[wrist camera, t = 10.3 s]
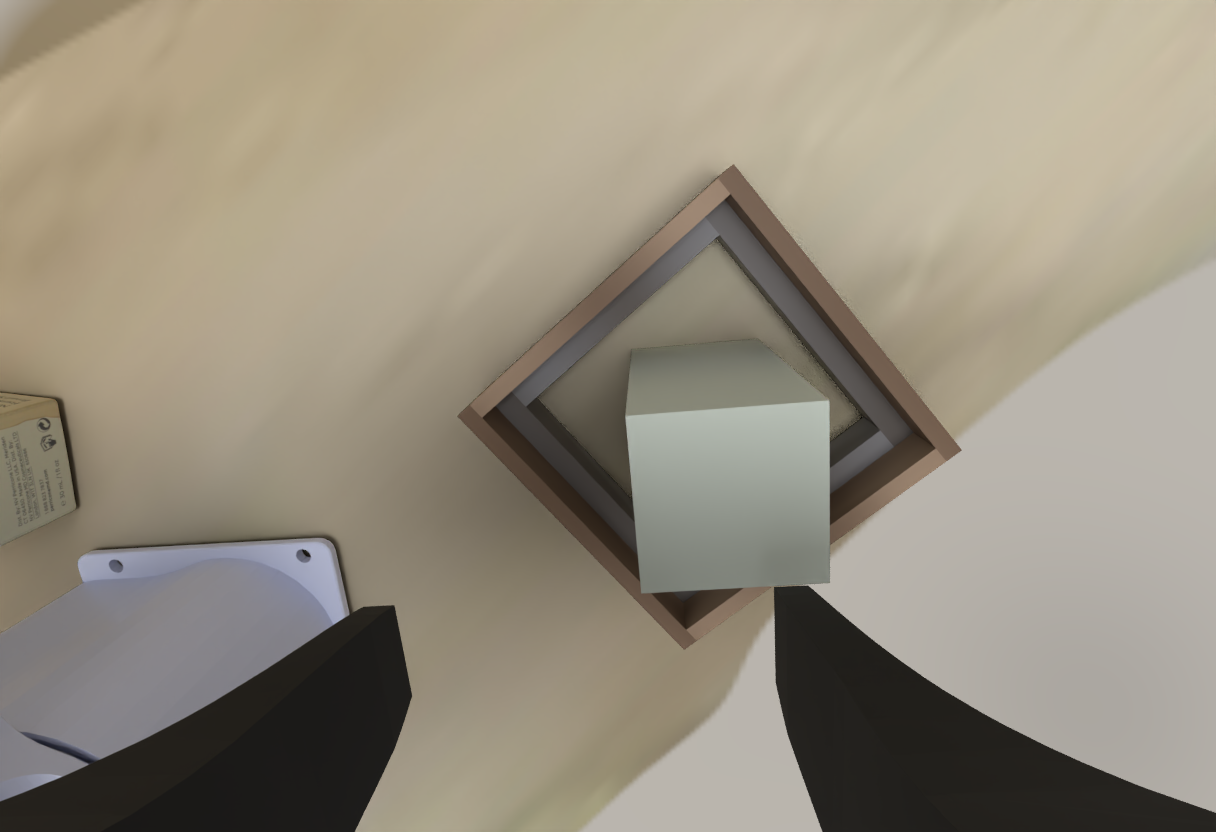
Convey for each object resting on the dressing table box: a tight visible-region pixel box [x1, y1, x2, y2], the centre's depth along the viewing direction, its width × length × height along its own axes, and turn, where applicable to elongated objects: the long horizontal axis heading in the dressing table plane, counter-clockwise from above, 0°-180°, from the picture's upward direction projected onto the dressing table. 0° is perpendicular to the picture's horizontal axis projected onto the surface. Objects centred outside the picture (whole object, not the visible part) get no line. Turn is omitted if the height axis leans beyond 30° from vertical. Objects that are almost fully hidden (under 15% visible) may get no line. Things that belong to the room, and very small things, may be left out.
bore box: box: [458, 164, 961, 649], centre depth 19 cm, size 10×10×3 cm
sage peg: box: [625, 339, 830, 593], centre depth 17 cm, size 4×4×8 cm
